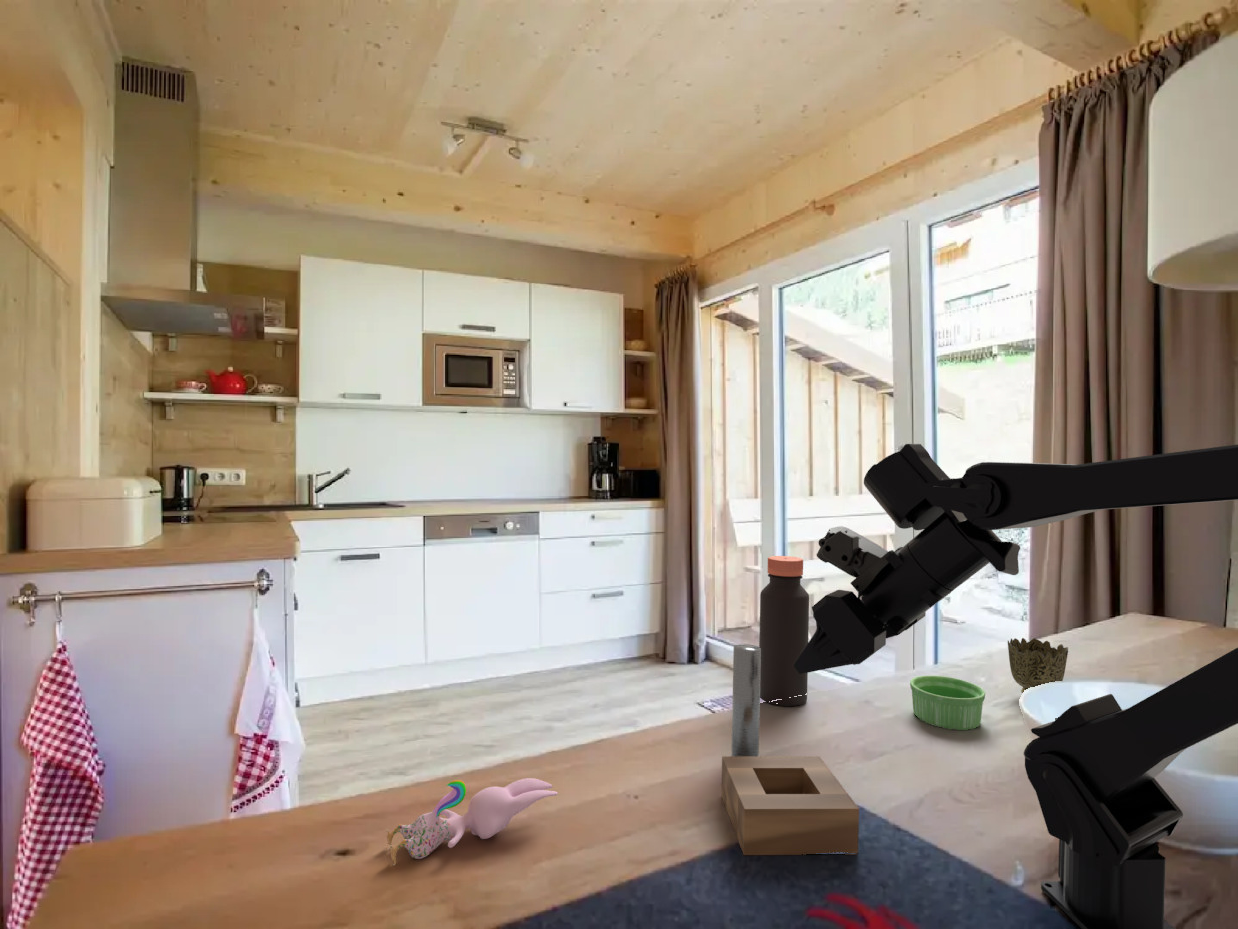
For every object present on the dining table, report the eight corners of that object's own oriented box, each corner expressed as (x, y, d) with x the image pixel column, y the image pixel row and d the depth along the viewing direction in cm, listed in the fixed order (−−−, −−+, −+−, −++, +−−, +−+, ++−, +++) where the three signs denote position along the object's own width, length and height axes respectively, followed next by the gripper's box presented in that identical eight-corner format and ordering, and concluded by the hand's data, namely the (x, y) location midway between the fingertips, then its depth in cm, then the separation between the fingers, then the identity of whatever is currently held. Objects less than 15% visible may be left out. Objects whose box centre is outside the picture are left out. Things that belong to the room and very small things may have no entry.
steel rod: (761, 770, 73) (763, 652, 73) (734, 770, 73) (736, 651, 73) (754, 757, 76) (757, 644, 76) (728, 757, 76) (731, 644, 76)
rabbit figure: (398, 895, 54) (569, 823, 60) (386, 825, 53) (560, 760, 60) (388, 853, 59) (546, 791, 66) (377, 789, 59) (537, 733, 65)
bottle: (817, 702, 94) (820, 560, 93) (780, 710, 90) (783, 563, 90) (784, 687, 100) (787, 553, 99) (748, 694, 96) (751, 556, 96)
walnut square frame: (858, 854, 58) (859, 808, 58) (743, 855, 57) (744, 809, 57) (819, 795, 68) (819, 756, 68) (721, 795, 67) (722, 756, 67)
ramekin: (894, 709, 92) (895, 677, 92) (949, 704, 94) (950, 673, 94) (942, 736, 83) (943, 701, 83) (1001, 729, 86) (1001, 695, 86)
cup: (994, 693, 99) (995, 639, 98) (1030, 687, 101) (1031, 635, 101) (1042, 711, 92) (1043, 653, 91) (1079, 705, 94) (1080, 649, 94)
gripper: (897, 497, 74) (799, 584, 80) (836, 506, 59) (723, 611, 66) (974, 578, 69) (863, 662, 76) (930, 609, 54) (797, 711, 61)
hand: (814, 658), depth 70 cm, fingers open, 9 cm apart
